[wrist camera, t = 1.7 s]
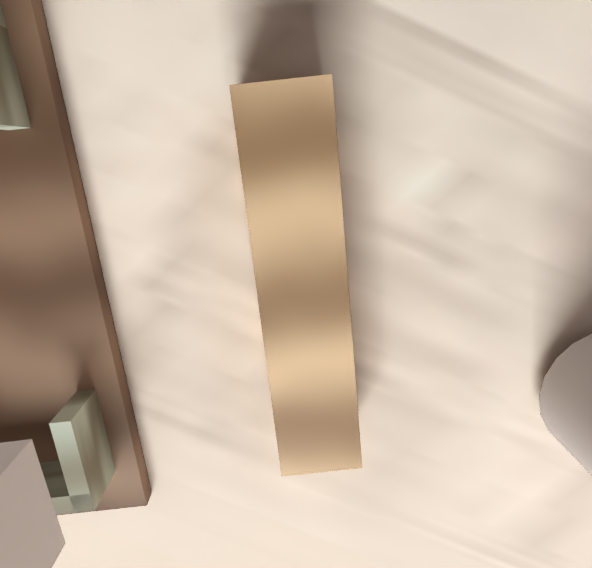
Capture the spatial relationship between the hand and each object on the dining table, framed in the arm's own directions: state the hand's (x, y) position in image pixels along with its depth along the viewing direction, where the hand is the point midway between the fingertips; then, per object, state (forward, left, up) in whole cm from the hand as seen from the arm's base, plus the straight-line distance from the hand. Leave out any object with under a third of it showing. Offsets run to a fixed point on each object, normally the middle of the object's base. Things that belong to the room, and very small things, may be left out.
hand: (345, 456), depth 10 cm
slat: (0, 0, -15) cm, 15 cm away
